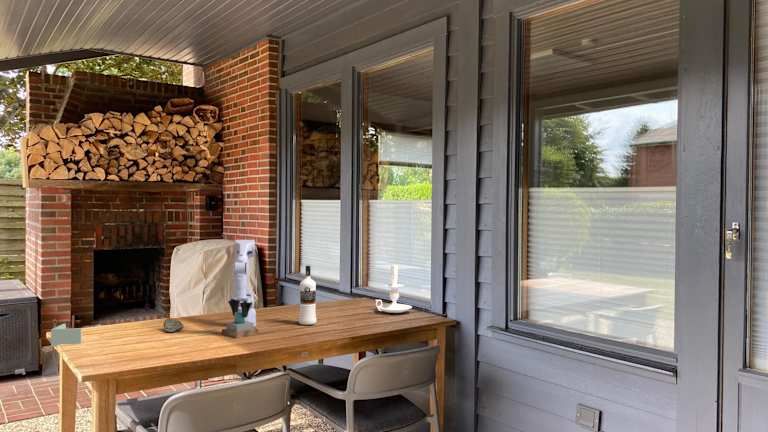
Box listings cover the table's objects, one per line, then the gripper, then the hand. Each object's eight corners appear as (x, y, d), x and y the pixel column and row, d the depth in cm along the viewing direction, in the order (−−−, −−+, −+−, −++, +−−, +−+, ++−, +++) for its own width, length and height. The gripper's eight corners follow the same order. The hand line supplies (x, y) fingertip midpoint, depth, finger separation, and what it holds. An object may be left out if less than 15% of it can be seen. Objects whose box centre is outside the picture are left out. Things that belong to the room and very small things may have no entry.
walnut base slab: (243, 331, 282) (243, 325, 282) (258, 335, 274) (258, 329, 274) (221, 335, 273) (221, 329, 273) (236, 339, 265) (236, 332, 265)
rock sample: (159, 324, 270) (168, 310, 277) (156, 333, 275) (165, 319, 282) (179, 334, 272) (188, 320, 278) (176, 342, 276) (185, 328, 283)
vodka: (318, 321, 304) (318, 264, 304) (314, 325, 295) (314, 266, 295) (301, 321, 305) (301, 264, 305) (296, 324, 296) (297, 266, 296)
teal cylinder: (241, 321, 276) (241, 311, 276) (246, 322, 273) (247, 312, 273) (232, 322, 273) (232, 312, 273) (237, 324, 270) (238, 313, 270)
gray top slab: (243, 326, 280) (243, 320, 280) (253, 329, 273) (253, 322, 273) (226, 328, 273) (226, 322, 273) (236, 331, 267) (236, 325, 267)
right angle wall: (80, 346, 248) (80, 328, 247) (51, 346, 246) (51, 329, 246) (91, 339, 259) (91, 323, 259) (63, 340, 258) (63, 323, 258)
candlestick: (363, 312, 333) (363, 263, 333) (395, 307, 349) (395, 261, 349) (387, 317, 318) (387, 266, 317) (419, 312, 334) (419, 264, 334)
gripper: (224, 287, 275) (223, 315, 275) (242, 289, 265) (242, 319, 265) (236, 285, 280) (236, 313, 280) (254, 288, 271) (254, 317, 271)
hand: (240, 316), depth 273 cm, fingers open, 7 cm apart
